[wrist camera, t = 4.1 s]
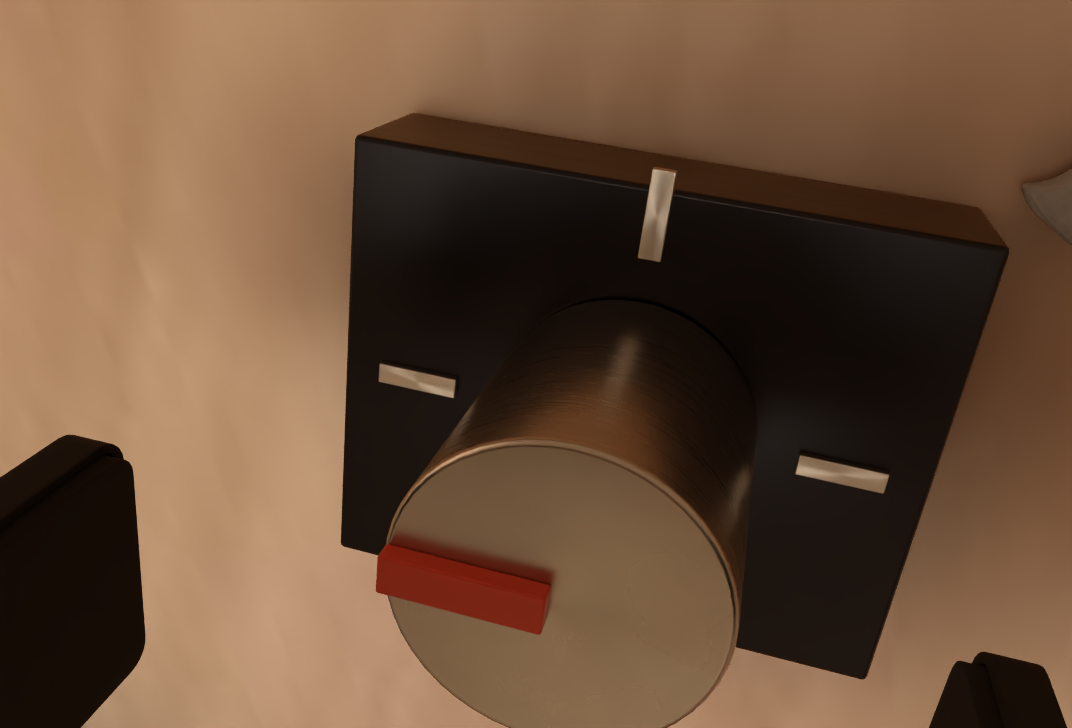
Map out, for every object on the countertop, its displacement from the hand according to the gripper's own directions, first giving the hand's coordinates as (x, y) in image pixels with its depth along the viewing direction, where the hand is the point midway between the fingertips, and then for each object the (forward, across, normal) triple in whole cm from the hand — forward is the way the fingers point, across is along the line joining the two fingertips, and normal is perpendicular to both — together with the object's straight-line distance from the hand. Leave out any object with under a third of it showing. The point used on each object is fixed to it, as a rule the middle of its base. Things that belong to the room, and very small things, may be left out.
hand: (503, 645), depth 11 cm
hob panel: (+8, 0, 0) cm, 9 cm away
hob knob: (+6, 0, 0) cm, 6 cm away
